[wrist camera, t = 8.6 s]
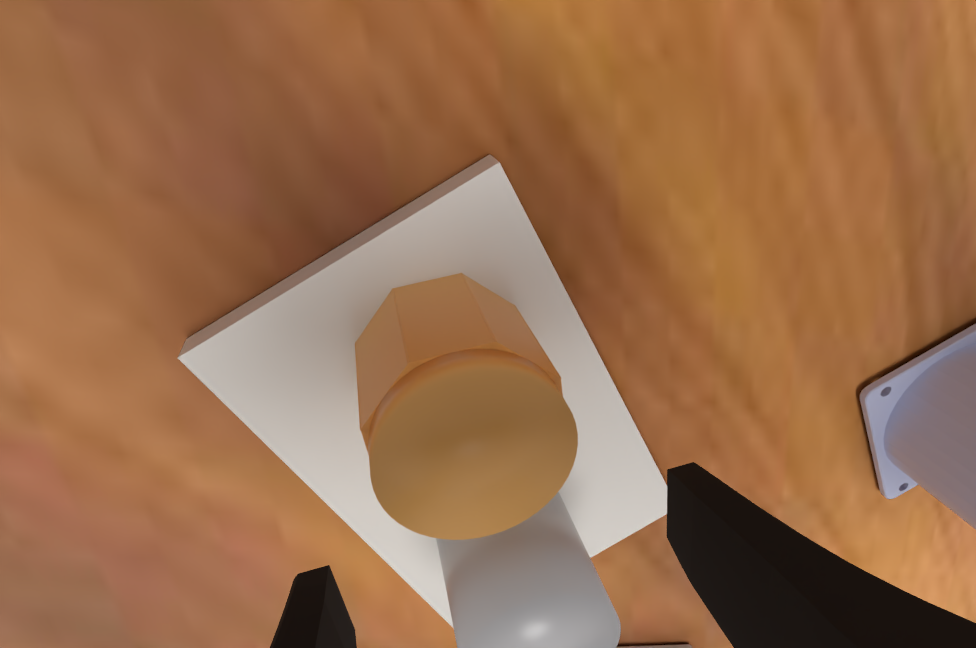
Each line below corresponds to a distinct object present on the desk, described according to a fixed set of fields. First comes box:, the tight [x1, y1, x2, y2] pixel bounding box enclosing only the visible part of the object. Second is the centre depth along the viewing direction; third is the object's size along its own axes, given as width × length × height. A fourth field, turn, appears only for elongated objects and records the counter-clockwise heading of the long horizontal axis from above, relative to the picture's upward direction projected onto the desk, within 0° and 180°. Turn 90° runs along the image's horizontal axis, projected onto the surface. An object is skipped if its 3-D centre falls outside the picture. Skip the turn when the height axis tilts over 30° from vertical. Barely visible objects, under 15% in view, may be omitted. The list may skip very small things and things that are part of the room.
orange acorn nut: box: [355, 273, 578, 540], centre depth 17 cm, size 5×5×6 cm
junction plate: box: [178, 154, 667, 648], centre depth 19 cm, size 11×17×7 cm, turn 28°
